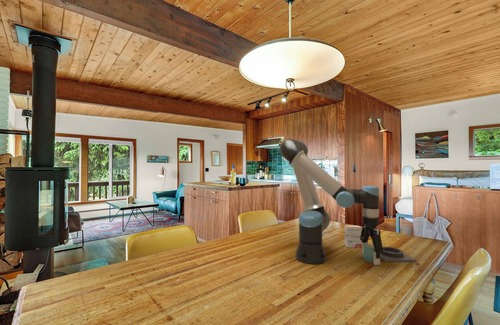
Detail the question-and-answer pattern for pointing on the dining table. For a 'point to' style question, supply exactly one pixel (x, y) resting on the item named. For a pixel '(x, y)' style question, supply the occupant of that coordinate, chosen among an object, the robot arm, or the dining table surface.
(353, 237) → the ink box
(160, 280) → the dining table surface
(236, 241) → the dining table surface
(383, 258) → the square plate with ring
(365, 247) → the cap
